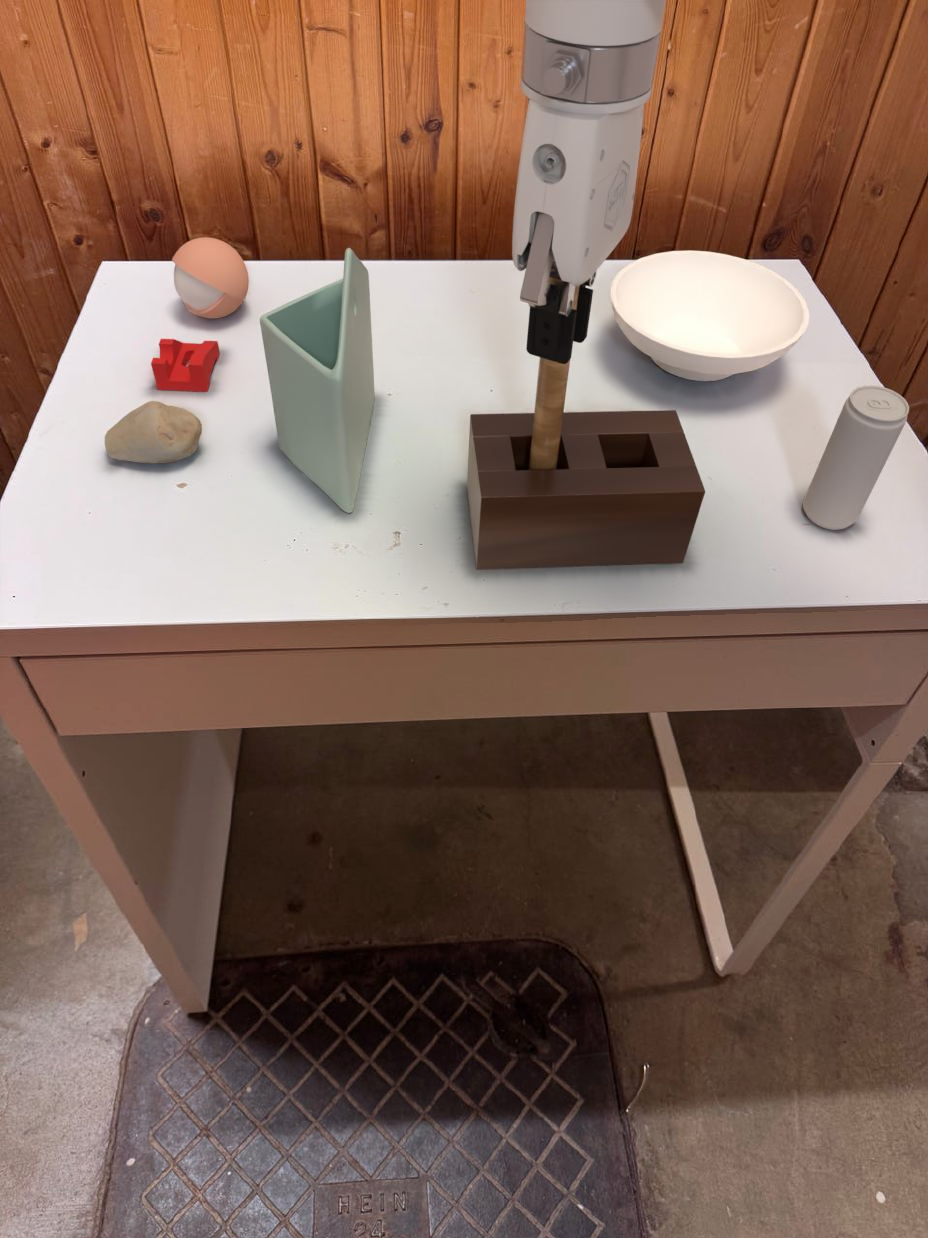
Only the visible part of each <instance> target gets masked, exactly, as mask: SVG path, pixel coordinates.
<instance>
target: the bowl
mask: <svg viewBox="0 0 928 1238" xmlns="http://www.w3.org/2000/svg"><path fill="white" fill-rule="evenodd" d="M609 292H610V304H611V309H612V314H613V316H614V319H615V320H616V323H617V326H619V328H620V330H621V331H622V333H623V335H624V336H625V337H626V338H627V339H628V340H629V342H630V343H631V344H632V345H633V346H634V347H636V348H637V349H638V350H639V351H640V352H642V353H644V354H645V355H647V356H648V357H650V358H651V359H652V361H653V362H654V363H655V364H656V365H657V366H658V367H659V368H661V370H664V371H665V372H667V373H669V374H671V375H673V376H676V377H679V378H682V379H685V380H691V381H695V382H711V381H712V382H715V381H719V380H723V379H727V378H729V377H731V376H733V375H736V374H742V373H748V372H753V371H756V370H759V369H761V368H765V367H766V366H768V365H770V364H772V363H773V362H775V361H776V360H778V359H779V358H781V357H783V356H785V355H786V354H787V353H788V352H789V351H790V350H791V349H792V348H794V346H796V344H797V343H798V342H799V340H801V339H802V338H803V336H804V334H805V333H806V330H807V328H808V325H809V324H810V311H809V306H808V304H807V300H805V298H804V296H803V295H802V294H801V292H800V291H799V290H798V289H797V288H796V286H794V285H793V284H792V283H791V282H790V281H788V280H787V279H786V278H784V277H782V275H780V274H778V273H777V272H775V271H773V270H771V269H769V268H767V267H765V266H763V265H761V264H758V263H756V262H753V261H750V260H747V259H745V258H741V257H739V256H735V255H730V254H727V253H719V252H713V251H706V250H670V251H664V252H658V253H653V254H650V255H647V256H643V257H640V258H638V259H636V260H634V261H632V262H629V263H627V265H625V266H624V267H623V268H622V269H620V270H618V273H617V274H616V275H615V276H614V278H613V279H612V282H611V286H610V291H609Z"/></svg>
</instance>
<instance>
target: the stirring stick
mask: <svg viewBox="0 0 928 1238" xmlns="http://www.w3.org/2000/svg"><path fill="white" fill-rule="evenodd" d="M562 282H563V281H562V280H559V279H556V278H552V277H549V280H548V283H550V284H554V285H558V286H559V287H560V289H561V290H562ZM579 286H580V285H579ZM579 286H575V292H574V300H573V306H572V309H574V310H577V302H578V294H579ZM570 364H571V359H570V360H569V361H568V363H566V364H561V363H558V362H555V361H551V360H548V359H544V358H541V357H539V360H538V370H537V382H536V391H535V392H536V393H535V403H534V411H533V413H534V421H533V431H532V442H531V452H530V462H529V470H556V467H557V459H558V452H559V444H560V436H561V428H562V420H563V412H565V403H566V397H567V396H566V395H567V388H568V380H569V373H570V372H569V371H570Z"/></svg>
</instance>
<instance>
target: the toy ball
mask: <svg viewBox="0 0 928 1238" xmlns="http://www.w3.org/2000/svg"><path fill="white" fill-rule="evenodd" d="M171 261H172V262H173V263H174V264H175V265H174V267H173V285H174V289H175V291H176V294H177V295H178V297H179V298H180V299H181V300H182V301H183V304H184V306H185V308H186V309H187V310H188V311H189V312H190V313H192V314H194V315H196V316H199V317H201V318H205V319H221V318H224V317H227V316H229V315H231V314H233V313H234V312H235V311H237V310H238V309H239V308H240V307H241V306H242V304H243V302H244V300H245V299H246V298H247V294H248V292H249V286H250V278H249V272H248V268H247V266H246V263H245V261H244V260H243V258H242V256H241V255H240V254H239V253H238V251H237V250H236V249H235V248H234V247H233V246H231V245H230V244H228V243H227V242H225V241H223V240H221V239H218V238H214V237H209V236H208V237H205V236H203V237H197V238H194V239H191V240H189V241H187V242H185V243H184V244H183V245H181V246H180V247H179V248H178V249H177V250H176V252H175V253H174V255H173V256H172V259H171Z"/></svg>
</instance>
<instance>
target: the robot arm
mask: <svg viewBox="0 0 928 1238" xmlns="http://www.w3.org/2000/svg"><path fill="white" fill-rule="evenodd" d="M666 4H667V0H525V11H524V12H525V13H524V21H523V38H522V51H521V52H522V53H521V69H520V90H521V92H522V93H523V95H524V96H525V97H526V98H527V99H529V100H528V104H527V109H526V116H525V120H524V128H523V133H522V141H521V148H520V154H519V163H518V169H517V170H518V171H517V179H516V188H515V197H514V207H513V219H512V235H511V249H512V250H511V256H512V257H511V258H512V262H513V265H514V267H515V269H517V271H519V272H522V271H524V270H525V272H524V275H523V280H522V284H521V290H520V295H519V301H520V302H523V303H526V304H528V306H529V312H528V313H529V314H528V324H527V325H528V326H527V336H526V346H525V347H526V352H527V353H528V354H529V355H531V356H534V357H537V358H540V357H541V358H544V359H548V360H551V361H555V362H558V363H561V364H566V363H568V361H569V360H570V361H571V359H572V354H573V347H574V342H575V343H578V344H581V343H583V342H585V340H586V339H587V336H588V331H589V324H590V316H591V309H592V304H593V303H592V302H593V294H594V289H593V288H592V287H593V286H594V283H595V281H596V277H597V272H598V271H597V270H598V269H600V268H601V266H602V265H603V263H604V262H605V261H606V260H607V258H608V257H609V256H610V255H611V253H612V252H613V251H614V250H615V249H616V247H617V246H618V244H619V243H620V242H621V240H622V239H623V238H624V236H625V235H626V233H627V231H628V230H629V227H630V224H631V223H632V222H631V221H632V216H633V210H634V201H635V195H636V187H637V186H636V185H637V177H638V170H639V168H638V167H639V163H640V162H639V161H640V152H641V143H642V133H643V124H644V123H643V122H644V109H645V108H644V107H645V106H644V105H645V104H646V103H647V102H648V101H649V100H650V98H651V96H652V91H653V90H652V89H653V84H654V78H655V72H656V68H657V67H656V66H657V60H658V55H659V48H660V42H661V35H662V27H663V22H664V17H665V15H664V14H665V10H666ZM549 277H552V278H556V279H559V280H562V281H563V282H562V290H561V289H560V287H559V286H558V285H554V284H550V283H548V280H549ZM579 285H580V286H579ZM575 286H579V294H578V302H577V310H574V309H572V306H573V300H574V292H575ZM589 287H590V288H589Z"/></svg>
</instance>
